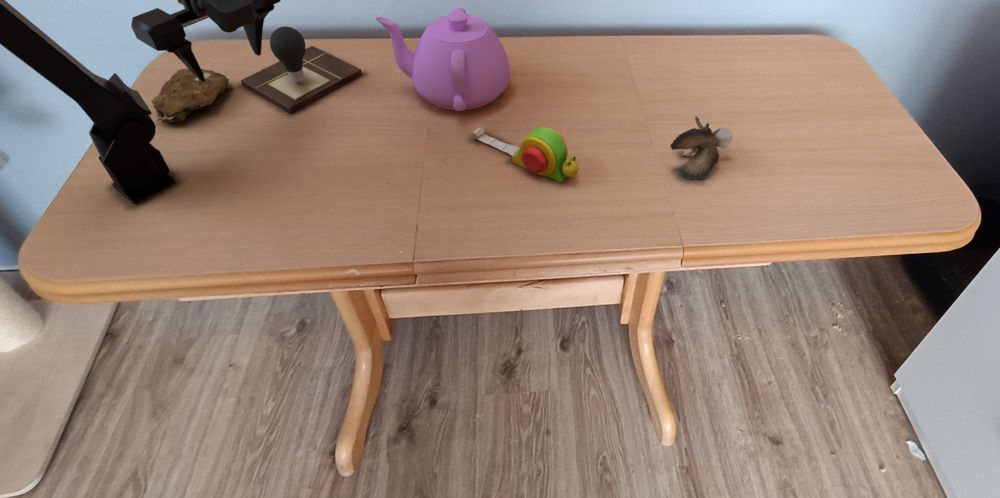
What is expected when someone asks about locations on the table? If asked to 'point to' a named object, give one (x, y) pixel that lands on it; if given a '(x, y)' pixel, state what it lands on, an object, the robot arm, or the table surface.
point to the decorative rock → (187, 94)
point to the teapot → (454, 61)
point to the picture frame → (318, 81)
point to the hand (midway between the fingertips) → (231, 67)
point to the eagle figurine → (701, 149)
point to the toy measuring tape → (537, 153)
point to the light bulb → (289, 51)
